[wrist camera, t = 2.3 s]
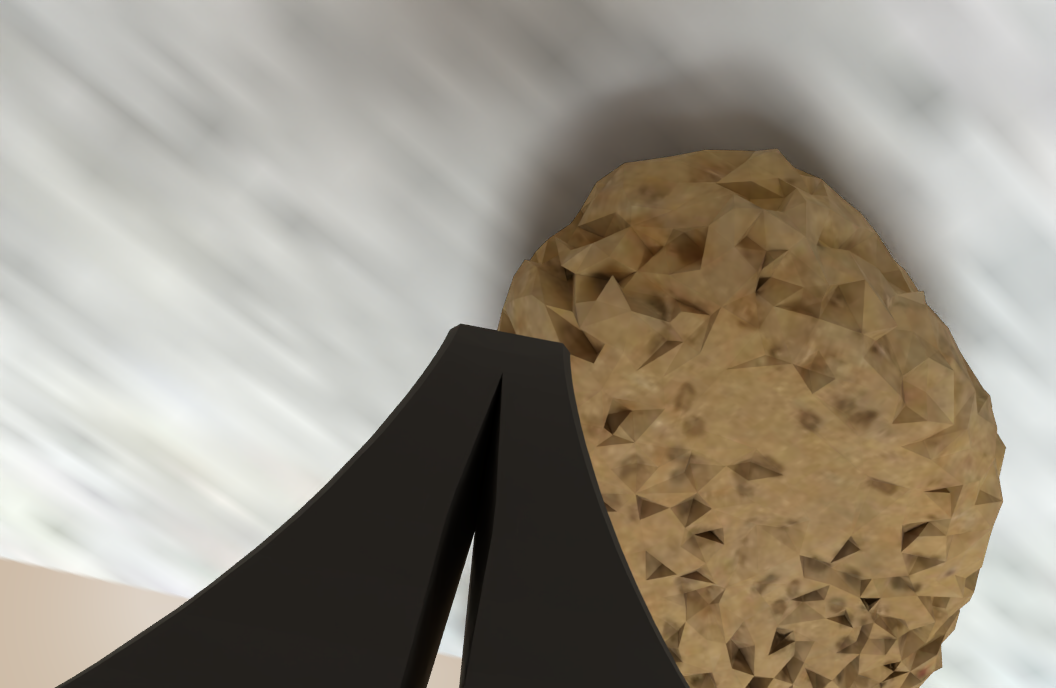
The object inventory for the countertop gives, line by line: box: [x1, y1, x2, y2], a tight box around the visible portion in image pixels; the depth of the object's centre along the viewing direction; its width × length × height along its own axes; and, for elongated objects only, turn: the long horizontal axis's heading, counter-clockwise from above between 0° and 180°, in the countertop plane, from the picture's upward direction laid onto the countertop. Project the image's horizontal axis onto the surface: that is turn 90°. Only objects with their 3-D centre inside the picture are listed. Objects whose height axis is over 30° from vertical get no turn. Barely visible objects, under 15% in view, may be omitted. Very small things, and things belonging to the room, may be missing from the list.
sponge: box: [497, 149, 1006, 688], centre depth 22 cm, size 13×8×20 cm
